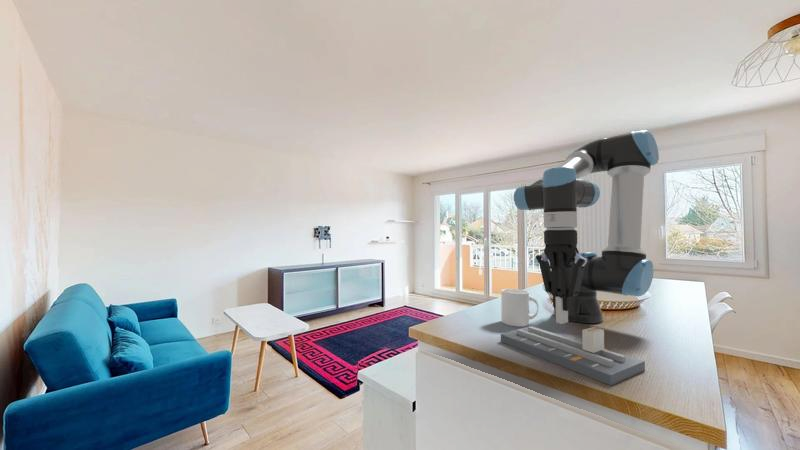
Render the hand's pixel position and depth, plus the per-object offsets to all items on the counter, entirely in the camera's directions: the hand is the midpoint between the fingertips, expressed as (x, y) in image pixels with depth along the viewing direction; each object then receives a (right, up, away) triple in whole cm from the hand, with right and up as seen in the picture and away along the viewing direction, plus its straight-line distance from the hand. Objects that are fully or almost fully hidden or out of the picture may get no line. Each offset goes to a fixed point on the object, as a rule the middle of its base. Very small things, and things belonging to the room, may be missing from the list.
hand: (562, 322), depth 78 cm
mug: (-1, -8, +25) cm, 26 cm away
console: (0, -8, -1) cm, 8 cm away
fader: (+3, -5, -7) cm, 10 cm away
